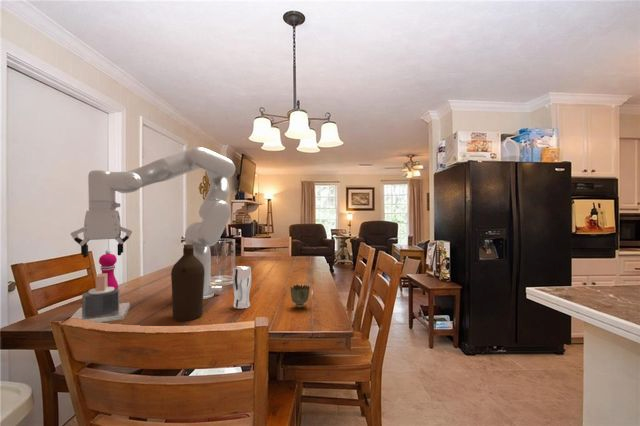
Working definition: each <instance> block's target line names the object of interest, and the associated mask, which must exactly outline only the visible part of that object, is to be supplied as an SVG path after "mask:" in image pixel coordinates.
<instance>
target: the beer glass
mask: <svg viewBox="0 0 640 426" xmlns="http://www.w3.org/2000/svg"><path fill="white" fill-rule="evenodd" d="M251 285H252V267H251V266H249V265H240V266H239V265H237V266H234V267H233V268H232V287H233V288H232V289H233V294H234V300H233V306H232V307H233V308H234V309H236V310H237V309H238V310H243V309H244V308H245V309H248V308H250V306H251V304H250V291H251ZM245 309H244V310H245Z"/></svg>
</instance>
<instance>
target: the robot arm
mask: <svg viewBox="0 0 640 426" xmlns="http://www.w3.org/2000/svg"><path fill="white" fill-rule="evenodd" d="M198 169H199V170H200V169H203V170H205V173H206V176H207V178H208V180H209V184H210V185H209V189H208V192H207V194H206V196H205V198H204V200H203V202H202V204H201V205H200V207H199V209H198V215H199V217H200V218H201V219H202V222H201V221H200V222H198V221H197V222H193V223H191V224H189V225H188V227H187V228H186V229H185V233H184V239H185V244H193V248H194V256H195V257H196V258H197V259H198V260H199V261H200V262H201V263H202V264H203V266H204V270H205V275H204V291H203V300H206V299H210V298H213V297H214V295H215V292H216V291H218V292H219V291H221V292H222V291H223V287H222V285H212V283H211V273H212V272H211V266H212V265H211V263H212V262H211V259H212V258H211V257H212V255H211V247H213V246H214V245H216V244H217V243H218V242H219V240H220V239H221V236H222V235H223V233H224V231H225V229H226V226H227V224H228V222H229V220H230V218H231V217H230V216H231V210H232V209H231V206H230V204H229V203H228V202H227V200H228V197H229V194H230V183H229V180H228V179H230V178H232V177H233V176H234V175H235V173H236V165H235V164H234V162H233V160H231V159H230V158H227V157H226V156H223V155H221V154H219V153H217V152H216V151H213V150H210V149H208V148H206V147H202V146H195V147H192V148H189V149H186V150H183V151H180V152H177V153H174V154H171V155H167V156H165V157H162V158H159V159H156V160H154V161H152V162H150V163H147V164H145V165H143V166H140V167H137V168H133V169H131V170H127V171H109V170H103V169H102V170H100V169H98V170H91V171H89V172H88V173H87V174H88V175H87V177H88V178H87V181H88V182H87V184H88V187H87V188H88V192H87V193H88V210H86V212H85V215H84V221H83V227H81V228H79V229H76V230H74V231H71V233H70V235H71V238H72V239H73V241H74V242H75V243H77V244H78V245H79V246H80V255H81V256H82V258H87V257H88V256H89V245H88V243H89V241H95V240H98V241H99V240H115V241H117V242H118V243H117V256H121V255H122V253H123V254H124V243H125V242H127V240H129V238H130V237H131V235H132V233H133V231H132V230H130V229H128V228H126V227H123V226H121V216H120V212H119V210H116V209H117V208H121V203H119V202H117V201H116V192H118V193H119V194H130V193H131V194H132V193H135V192H137V191H139V190H140V189H142V188H145V187H147V186H150V185H153V184H156V183H160V182H165V181H170V180H172V179H175V178H176V177H180V176H182V175H185V174H187V173H191V172H193V171H195V170H198ZM122 232H123V233H125V236H124V237H123V238H122V237H121V235H122ZM81 233H83V239H82V238H80V237H79V234H81Z"/></svg>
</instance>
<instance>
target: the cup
mask: <svg viewBox="0 0 640 426" xmlns="http://www.w3.org/2000/svg"><path fill="white" fill-rule="evenodd" d="M289 287H290V288H289V290H290V297H291V301H292V302H293V303H294V307H295V308H296V307H299V308H298V309H301V308H300V307H303V308H305V307H306V306H305V304H307V302H308V300H309V295H310V288H311V286H309V285H307V284H303V285H302V284H300V285H299V284H296V285H295V284H294V285H293V286H289Z"/></svg>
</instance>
